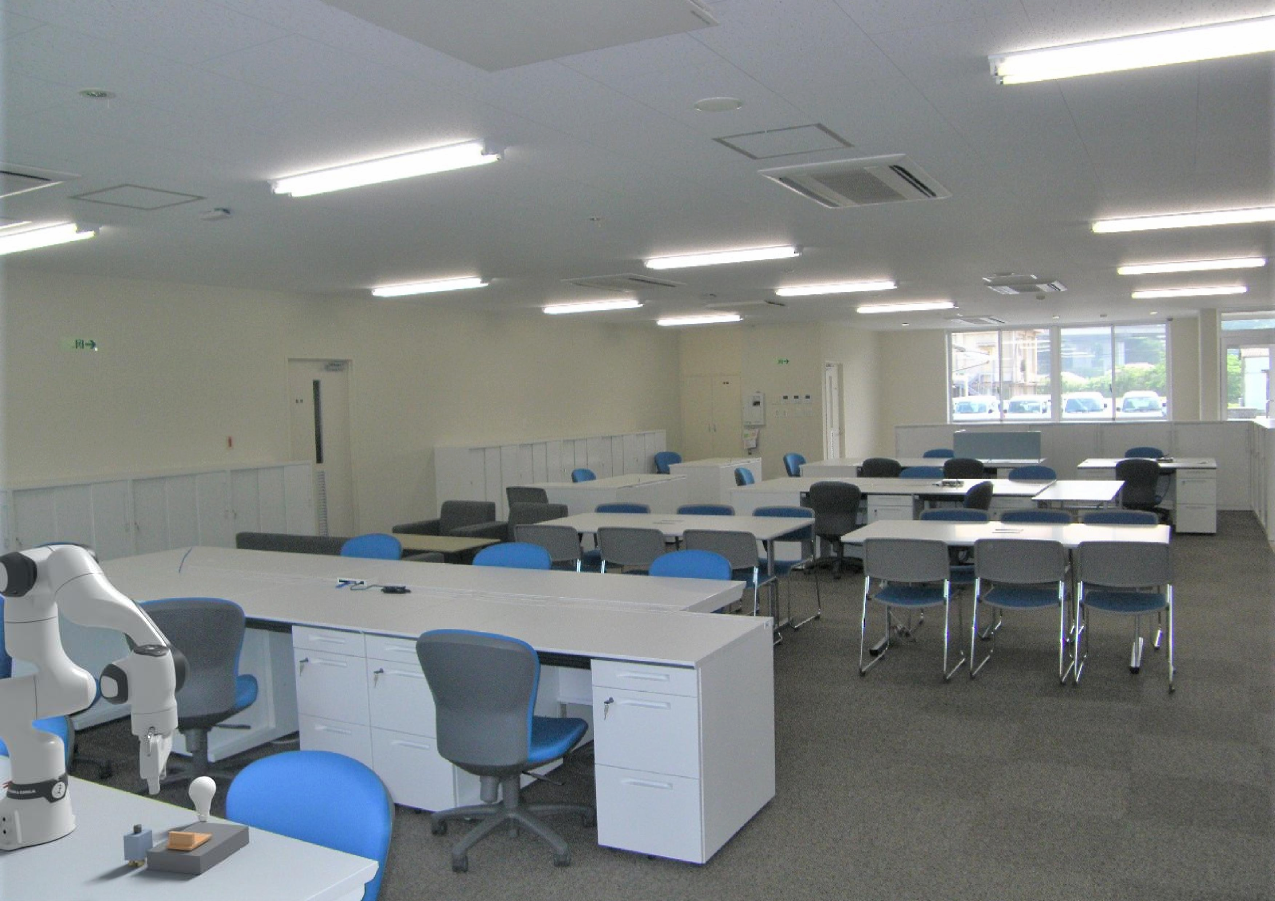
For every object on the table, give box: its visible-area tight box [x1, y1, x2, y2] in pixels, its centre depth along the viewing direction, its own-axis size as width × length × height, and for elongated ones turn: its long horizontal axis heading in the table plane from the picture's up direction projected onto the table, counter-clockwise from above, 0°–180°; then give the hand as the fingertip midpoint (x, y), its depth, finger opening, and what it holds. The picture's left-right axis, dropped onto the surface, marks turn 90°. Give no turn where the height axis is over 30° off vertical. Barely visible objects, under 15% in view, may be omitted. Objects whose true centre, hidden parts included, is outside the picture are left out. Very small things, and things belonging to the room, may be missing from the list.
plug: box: [122, 824, 154, 868], centre depth 212 cm, size 4×4×8 cm
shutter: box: [165, 830, 213, 851], centre depth 212 cm, size 7×7×3 cm
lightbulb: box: [188, 775, 217, 822], centre depth 235 cm, size 6×6×11 cm
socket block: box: [146, 821, 250, 876], centre depth 215 cm, size 14×16×4 cm
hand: (157, 785), depth 204 cm, fingers open, 8 cm apart
